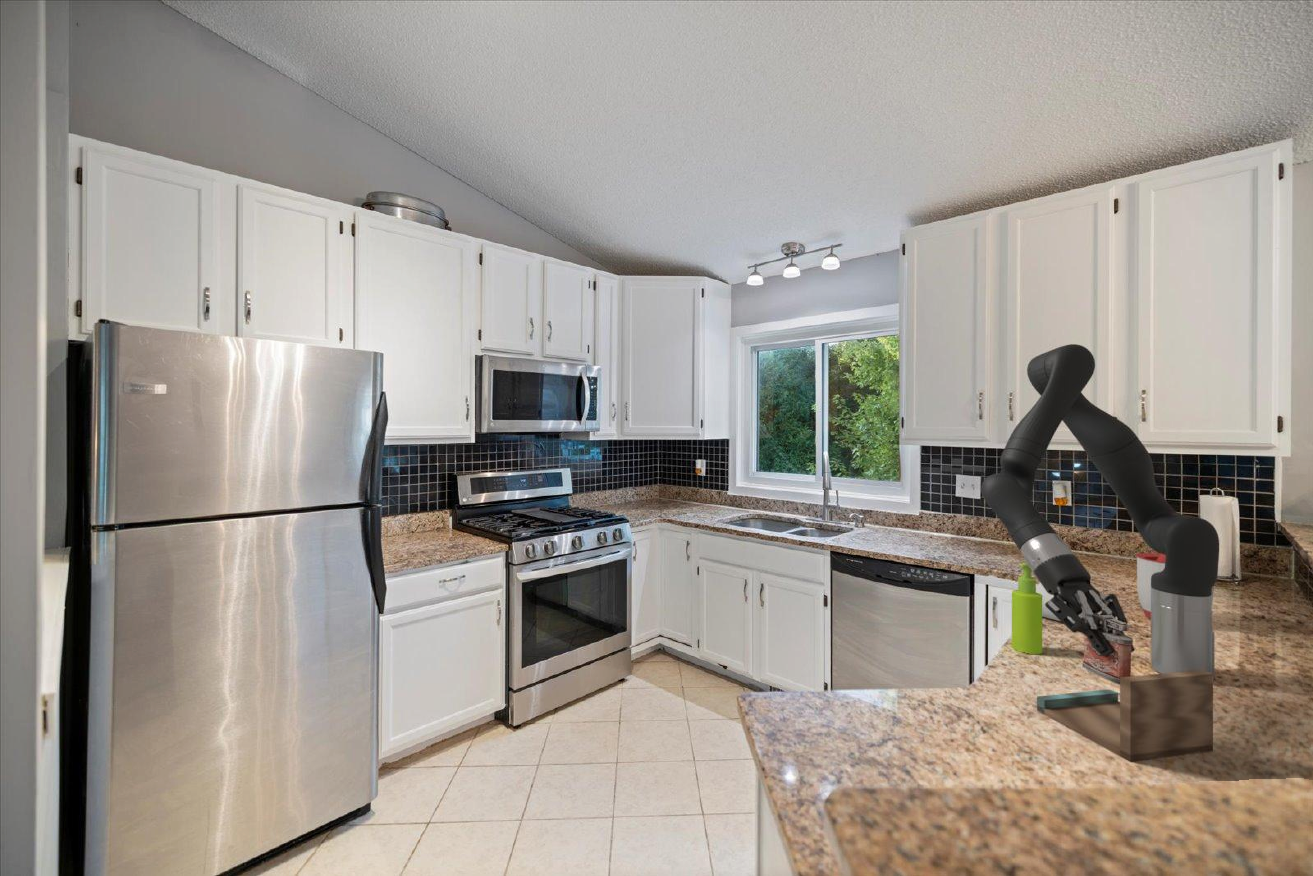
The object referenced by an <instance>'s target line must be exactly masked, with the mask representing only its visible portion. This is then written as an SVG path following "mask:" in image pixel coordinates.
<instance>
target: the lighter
mask: <svg viewBox="0 0 1313 876" xmlns="http://www.w3.org/2000/svg"><path fill="white" fill-rule="evenodd" d="M1093 620H1094V621H1095V623H1096V625H1097V627H1098V628H1097V629H1096V630H1100V631H1101V632H1102V633H1103V635H1104V636H1105V638H1106V639H1107V640H1108V642H1109V643H1110V644H1111V646H1112V647H1113V649H1114V653H1112V654H1110V655H1109V656H1102V655H1101V654H1100V653H1099V652H1098V651H1097V650H1096V649H1095V648H1094V646H1093V644H1092V643H1091V642H1090V640H1089V639H1088V638H1087V636H1085V635H1083V637H1084V640H1083V641H1084V642H1083V660H1082V668H1084V669H1085V670H1087V671H1088V672H1089V673H1092V674H1093V675H1094V676H1095V675H1096V676H1097V677H1099V678H1102V679H1104V680H1107V681H1109V682H1111V683H1114V684H1116V685H1119V686H1120V678H1121V677H1132V676H1131V675H1132V672H1131V671H1132V652H1131V644H1134V639H1133V637H1131V636H1128V635H1126V634H1125V633H1124V634H1125V635H1124V634H1122V633H1120V631H1123V632H1128V630H1129V627H1128V623H1127V624H1126V623H1124V622H1121V621H1119V620H1117V618H1116V619H1113V618H1112V617H1111V616H1109V615H1100V614H1099V613H1097V614H1095V613H1093Z"/></svg>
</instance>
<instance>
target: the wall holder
mask: <svg viewBox="0 0 1313 876" xmlns="http://www.w3.org/2000/svg"><path fill="white" fill-rule="evenodd" d="M1036 710H1037V712H1039V713H1041V714H1043V715H1045V716H1046V717H1049V718H1050V719H1051V720H1053V721H1055V722H1057V723H1059V724H1061V725H1063V726H1064V727H1065V728H1068V729H1070V730H1072V731H1074V732H1076V733H1078V734H1079V735H1081V736H1082V737H1085V738H1086V739H1088V740H1090V741H1092V742H1094V743H1096V744H1097V745H1099V746H1101V747H1103V748H1105V749H1106V750H1108V751H1109V752H1111V753H1114V754H1115V755H1117V756H1119V757H1121V758H1123V759H1125V760H1126V761H1129V762H1130V763H1131V762H1138V761H1145V760H1146V761H1147V760H1154V759H1160V758H1168V757H1169V758H1170V757H1175V756H1176V757H1178V756H1184V755H1191V754H1192V755H1193V754H1197V753H1200V754H1201V753H1206V752H1213V751H1214V677H1213V674H1212V673H1209V672H1207V671H1204V670H1195V671H1185V672H1174V673H1163V674H1161V673H1155V674H1144V675H1134V676H1131V677H1121V678H1120V685H1119V693H1118V691H1116V690H1112V689H1110V688H1108V689H1100V690H1090V691H1081V692H1080V691H1079V692H1069V693H1057V694H1048V695H1041V696H1039V695H1038V696H1037V695H1036Z"/></svg>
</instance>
